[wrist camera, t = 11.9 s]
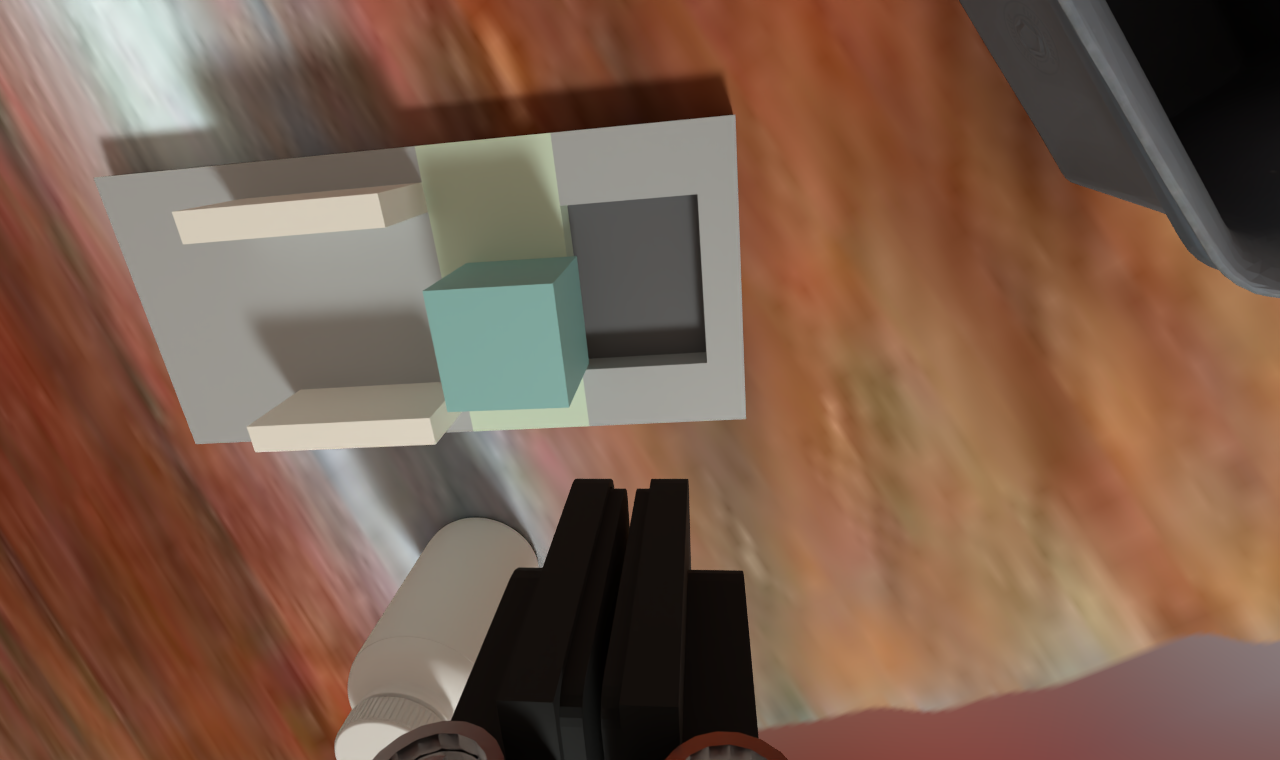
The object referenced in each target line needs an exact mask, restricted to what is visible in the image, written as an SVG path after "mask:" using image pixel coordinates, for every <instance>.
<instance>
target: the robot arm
mask: <svg viewBox="0 0 1280 760" xmlns="http://www.w3.org/2000/svg"><path fill="white" fill-rule="evenodd" d="M373 760H788V759H787V758H786V757H785V756H784V755H783V754H782V753H781V752H780V751H778V750H777V749H775V748H774V747H772V746H770V745H769V744H767V743H766V742H764V741H763V740H761V739H758V727H757V716H756V705H755V694H754V683H753V672H752V661H751V650H750V639H749V628H748V616H747V605H746V594H745V583H744V574H743V571H725V570H691V552H690V515H689V483H688V479H651V483H650V489H637V490H636V495H635V501H634V506H633V512H632V518H631V523H630V526H629V511H628V497H627V490H626V489H614V484H613V480H612V479H575V480H574V482H573V484H572V487H571V489H570V492H569V495H568V498H567V501H566V504H565V506H564V509H563V512H562V515H561V518H560V520H559V523H558V526H557V529H556V532H555V535H554V537H553V540H552V543H551V546H550V549H549V552H548V554H547V557H546V560H545V563H544V566H543V568H525V567H518V568H517V569H515V570H514V572H513V573H512V575H511V577H510V579H509V582H508V584H507V586H506V589H505V591H504V594H503V596H502V598H501V601H500V603H499V606H498V608H497V610H496V613H495V615H494V618H493V620H492V622H491V625H490V627H489V630H488V632H487V634H486V637H485V639H484V642H483V644H482V646H481V649H480V651H479V654H478V656H477V658H476V661H475V663H474V666H473V668H472V670H471V673H470V675H469V678H468V680H467V682H466V685H465V687H464V690H463V692H462V694H461V697H460V699H459V702H458V704H457V706H456V709H455V711H454V714H453V716H452V718H451V721H440V722H436V723H431V724H427V725H423V726H420V727H418V728H416V729H414V730H412V731H410V732H407V733H405V734H403V735H401V736H399V737H398V738H397V739H395V740H394V741H393V742H391V743H390V744H389V745H387V746H386V747H385V748H383V749H382V750H381V751H380V752H379V753H378V754H377V755H376V756H375V757H374V758H373Z"/></svg>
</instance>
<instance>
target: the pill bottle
mask: <svg viewBox="0 0 1280 760" xmlns="http://www.w3.org/2000/svg"><path fill="white" fill-rule="evenodd" d="M518 567H525V568H539V565H538V561H537V558H536V555H535V553H534V551H533V549H532V547H531V546H530V544H529V543H528V542H527V541H526V539H525V538H524V537H523V536H522V535H520V534H519V533H518V532H517V531H515V530H514V529H512V528H511V527H509V526H507V525H505V524H503V523H501V522H498V521H495V520H491V519H486V518H465V519H460V520H457V521H454V522H452V523H450V524H448V525H446V526H444V527H443V528H442V529H440V530H439V531H438V532H437V533H436V534H435V535H434V537H433V538H432V539H431V540H430V541H429V543H428V544H427V546H426V547H425V549H424V551H423V552H422V554H421V555H420V557H419V558H418V560H417V562H416V563H415V565H414V566H413V568H412V569H411V571H410V573H409V574H408V576H407V577H406V579H405V580H404V582H403V584H402V585H401V587H400V588H399V590H398V591H397V593H396V595H395V596H394V598H393V599H392V601H391V602H390V604H389V606H388V607H387V609H386V610H385V612H384V613H383V615H382V617H381V618H380V620H379V621H378V623H377V624H376V626H375V628H374V629H373V631H372V632H371V634H370V635H369V637H368V639H367V640H366V642H365V643H364V645H363V646H362V648H361V650H360V651H359V653H358V654H357V656H356V658H355V660H354V662H353V664H352V667H351V670H350V674H349V679H348V697H349V702H350V705H351V708H352V711H351V712H350V714H349V715H348V717H347V719H346V720H345V722H344V724H343V725H342V727H341V729H340V730H339V732H338V734H337V736H336V740H335V756H336V759H337V760H373V758H374V757H375V756H376V755H377V754H378V753H379V752H380V751H381V750H382V749H383V748H385V747H386V746H387V745H389V744H390V743H391V742H393V741H394V740H395V739H397V738H398V737H399V736H401V735H403V734H405V733H407V732H410V731H412V730H414V729H416V728H418V727H420V726H423V725H427V724H431V723H436V722H440V721H451V718H452V716H453V714H454V711H455V709H456V706H457V704H458V702H459V699H460V697H461V694H462V692H463V690H464V687H465V685H466V682H467V680H468V678H469V675H470V673H471V670H472V668H473V666H474V663H475V661H476V658H477V656H478V654H479V651H480V649H481V646H482V644H483V642H484V639H485V637H486V634H487V632H488V630H489V627H490V625H491V622H492V620H493V618H494V615H495V613H496V610H497V608H498V606H499V603H500V601H501V598H502V596H503V594H504V591H505V589H506V586H507V584H508V582H509V579H510V577H511V575H512V573H513V572H514V570H515V569H517V568H518Z"/></svg>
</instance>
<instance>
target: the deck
mask: <svg viewBox="0 0 1280 760" xmlns="http://www.w3.org/2000/svg"><path fill="white" fill-rule="evenodd" d="M94 180H95V183H96V186H97V188H98V191H99V193H100V196H101V199H102V201H103V204H104V206H105V209H106V212H107V214H108V217H109V219H110V222H111V225H112V227H113V230H114V232H115V235H116V238H117V240H118V243H119V245H120V248H121V251H122V253H123V256H124V258H125V261H126V264H127V266H128V269H129V271H130V274H131V277H132V279H133V282H134V284H135V287H136V290H137V292H138V295H139V297H140V300H141V303H142V305H143V308H144V310H145V313H146V316H147V318H148V321H149V323H150V326H151V329H152V331H153V334H154V336H155V339H156V342H157V344H158V347H159V349H160V352H161V355H162V357H163V360H164V362H165V365H166V368H167V370H168V373H169V376H170V378H171V381H172V383H173V386H174V389H175V391H176V394H177V396H178V399H179V402H180V404H181V407H182V409H183V412H184V415H185V417H186V420H187V422H188V425H189V428H190V430H191V433H192V435H193V438H194V441H195V443H196V444H206V443H228V442H250V441H252V444H253V447H254V450H255V452H274V451H296V450H319V449H342V448H365V447H388V446H411V445H434V444H437V442H438V441H439V440H440V439H441V437H442V436H443V435H444V434H445V433H447V432H469V431H491V430H513V429H535V428H557V427H579V426H601V425H623V424H645V423H667V422H689V421H711V420H732V419H746V406H745V377H744V349H743V320H742V292H741V263H740V235H739V206H738V178H737V149H736V121H735V115H725V116H715V117H705V118H695V119H685V120H675V121H664V122H654V123H644V124H634V125H624V126H613V127H603V128H593V129H583V130H573V131H562V132H552V133H542V134H532V135H522V136H511V137H501V138H491V139H481V140H471V141H461V142H450V143H440V144H430V145H420V146H410V147H399V148H389V149H379V150H369V151H359V152H348V153H338V154H328V155H318V156H308V157H297V158H287V159H277V160H267V161H257V162H247V163H236V164H226V165H216V166H206V167H196V168H185V169H175V170H165V171H155V172H145V173H134V174H124V175H115V176H105V177H96V178H94ZM570 256H577V263H578V271H579V280H580V289H581V297H582V306H583V315H584V323H585V332H586V341H587V349H588V358H589V364H588V367H587V369H586V371H585V373H584V376H583V378H582V380H581V382H580V384H579V387H578V389H577V391H576V393H575V396H574V398H573V400H572V402H571V405H570V407H569V408H546V409H519V410H492V411H466V412H447V408H446V403H445V398H444V393H443V389H442V384H441V379H440V374H439V369H438V364H437V360H436V355H435V350H434V345H433V340H432V335H431V331H430V326H429V321H428V316H427V311H426V307H425V302H424V297H423V292H422V291H423V290H425V289H426V288H428V287H430V286H431V285H433V284H434V283H436V282H437V281H439V280H441V279H442V278H444V277H445V276H447V275H448V274H450V273H451V272H453V271H455V270H456V269H458V268H459V267H461V266H462V265H464V264H466V263H474V262H490V261H506V260H522V259H538V258H554V257H570Z"/></svg>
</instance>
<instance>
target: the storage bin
mask: <svg viewBox="0 0 1280 760" xmlns="http://www.w3.org/2000/svg"><path fill="white" fill-rule="evenodd" d="M959 1H960V3H961V4H962V6H963V8H964V9H965V11H966V13H967V14H968V16H969V18H970V19H971V21H972V23H973V25H974V26H975V28H976V30H977V31H978V33H979V35H980V36H981V38H982V40H983V41H984V43H985V45H986V46H987V48H988V50H989V51H990V53H991V55H992V56H993V58H994V60H995V61H996V63H997V64H998V66H999V68H1000V69H1001V71H1002V73H1003V74H1004V76H1005V78H1006V79H1007V81H1008V83H1009V84H1010V86H1011V87H1012V89H1013V91H1014V92H1015V94H1016V96H1017V97H1018V99H1019V101H1020V102H1021V104H1022V106H1023V107H1024V109H1025V110H1026V112H1027V114H1028V115H1029V117H1030V119H1031V120H1032V122H1033V124H1034V125H1035V127H1036V129H1037V130H1038V132H1039V134H1040V136H1041V137H1042V139H1043V141H1044V142H1045V144H1046V146H1047V148H1048V149H1049V151H1050V153H1051V155H1052V156H1053V158H1054V160H1055V162H1056V163H1057V165H1058V167H1059V169H1060V170H1061V172H1062V174H1063V175H1064V176H1065V178H1066V179H1068V180H1069V181H1070V182H1072V183H1075V184H1078V185H1081V186H1084V187H1087V188H1090V189H1093V190H1096V191H1099V192H1102V193H1105V194H1108V195H1111V196H1114V197H1117V198H1120V199H1123V200H1126V201H1129V202H1132V203H1135V204H1138V205H1141V206H1144V207H1147V208H1150V209H1153V210H1156V211H1159V212H1162V213H1164V214H1166V215H1167V217H1168V218H1169V220H1170V222H1171V224H1172V226H1173V227H1174V229H1175V231H1176V233H1177V234H1178V236H1179V238H1180V239H1181V241H1182V242H1183V244H1184V245H1185V247H1186V248H1187V250H1188V251H1189V252H1190V253H1191V254H1192V255H1194V256H1195V257H1196V258H1197V259H1198V260H1199V261H1201V262H1203V263H1204V264H1206V265H1208V266H1209V267H1212V268H1215V269H1217V270H1219V271H1220V272H1221V273H1222V274H1223V275H1224V276H1225V277H1227V278H1228V279H1229V280H1231V281H1232V282H1233V283H1235V284H1236V285H1238V286H1240V287H1242V288H1244V289H1247V290H1249V291H1251V292H1253V293H1255V294H1259V295H1263V296H1269V297H1276V298H1280V0H959Z"/></svg>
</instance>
